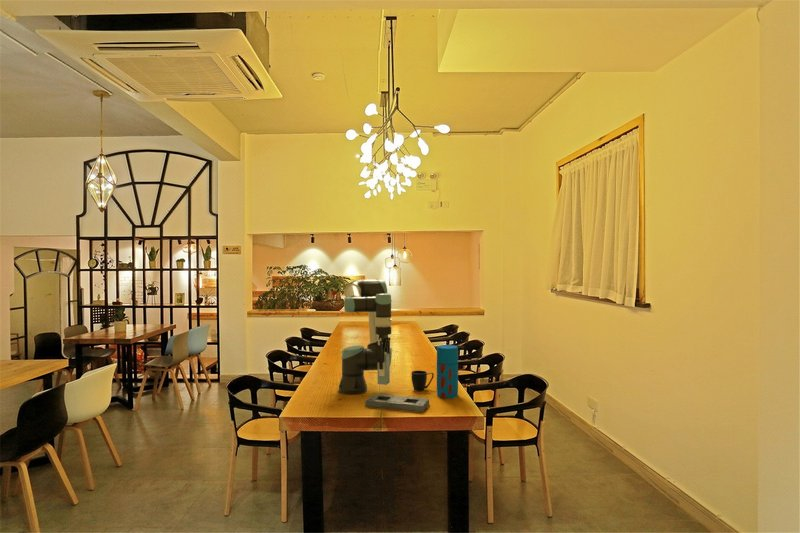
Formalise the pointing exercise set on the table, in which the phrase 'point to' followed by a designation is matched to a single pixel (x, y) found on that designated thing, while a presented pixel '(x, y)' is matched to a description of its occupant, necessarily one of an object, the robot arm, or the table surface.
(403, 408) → the panel
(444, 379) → the thermos
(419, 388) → the mug
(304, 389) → the table surface
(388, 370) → the plug
